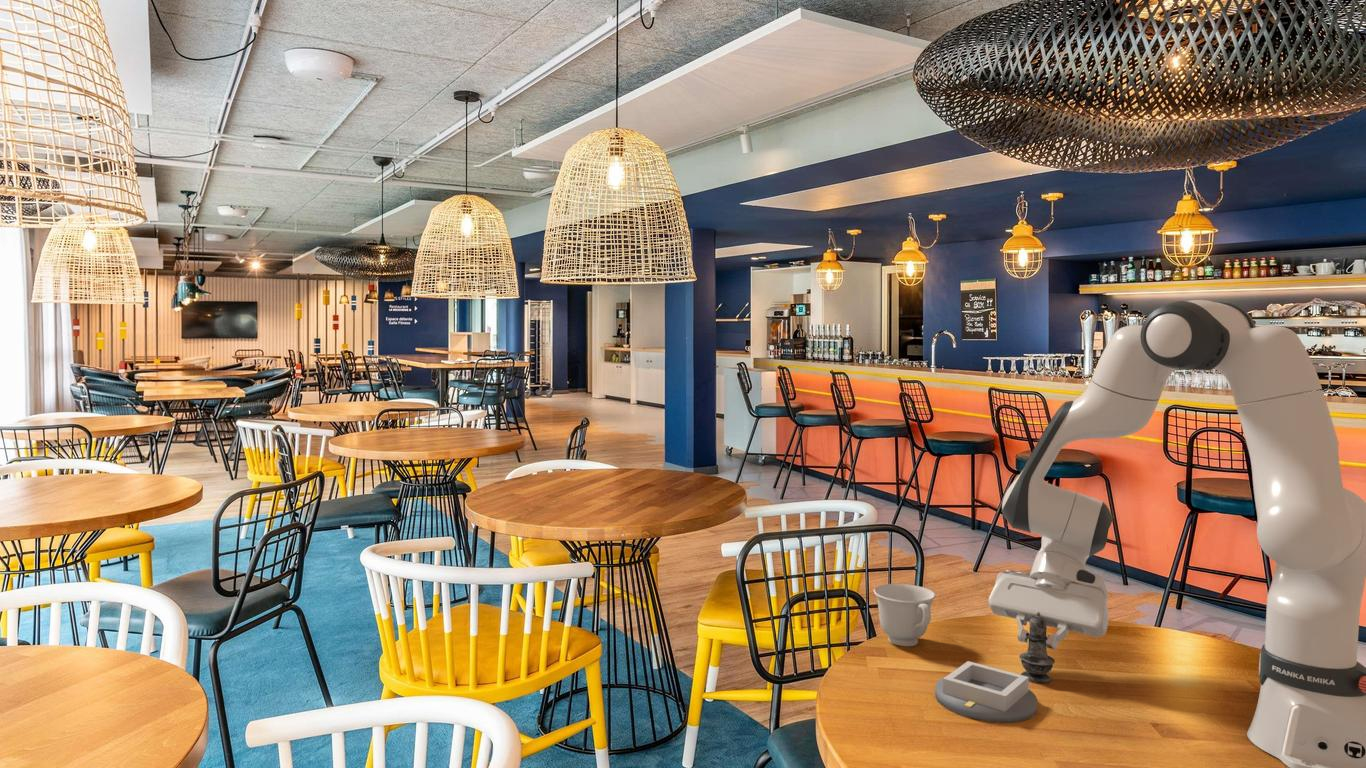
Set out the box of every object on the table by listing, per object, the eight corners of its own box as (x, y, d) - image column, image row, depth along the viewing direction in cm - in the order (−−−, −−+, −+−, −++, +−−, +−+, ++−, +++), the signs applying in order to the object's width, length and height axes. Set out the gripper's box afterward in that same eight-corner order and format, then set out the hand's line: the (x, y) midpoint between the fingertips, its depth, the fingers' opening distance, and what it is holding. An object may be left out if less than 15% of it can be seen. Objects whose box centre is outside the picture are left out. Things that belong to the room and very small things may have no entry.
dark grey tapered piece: (1047, 672, 155) (1050, 607, 155) (1058, 685, 150) (1061, 618, 149) (1014, 670, 156) (1016, 606, 155) (1024, 683, 150) (1026, 616, 149)
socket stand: (1050, 699, 143) (1051, 676, 143) (1016, 732, 131) (1017, 707, 131) (958, 674, 154) (959, 652, 154) (919, 702, 142) (919, 678, 142)
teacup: (898, 660, 160) (900, 608, 160) (861, 633, 175) (862, 585, 174) (955, 654, 163) (956, 603, 163) (914, 628, 178) (915, 581, 177)
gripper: (996, 558, 164) (974, 621, 157) (1111, 579, 150) (1093, 648, 144) (1004, 577, 167) (983, 638, 161) (1117, 598, 154) (1100, 667, 147)
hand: (1036, 643), depth 152 cm, fingers closed on dark grey tapered piece, 4 cm apart
